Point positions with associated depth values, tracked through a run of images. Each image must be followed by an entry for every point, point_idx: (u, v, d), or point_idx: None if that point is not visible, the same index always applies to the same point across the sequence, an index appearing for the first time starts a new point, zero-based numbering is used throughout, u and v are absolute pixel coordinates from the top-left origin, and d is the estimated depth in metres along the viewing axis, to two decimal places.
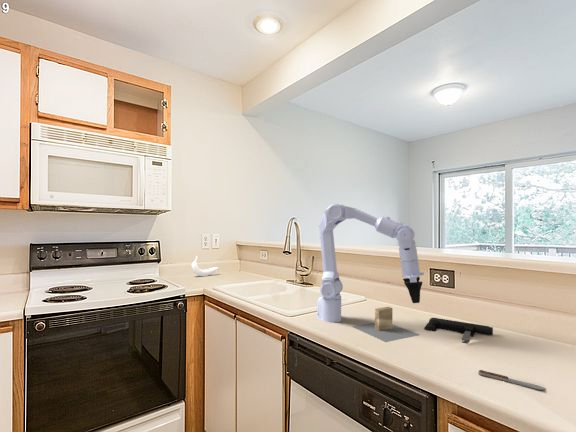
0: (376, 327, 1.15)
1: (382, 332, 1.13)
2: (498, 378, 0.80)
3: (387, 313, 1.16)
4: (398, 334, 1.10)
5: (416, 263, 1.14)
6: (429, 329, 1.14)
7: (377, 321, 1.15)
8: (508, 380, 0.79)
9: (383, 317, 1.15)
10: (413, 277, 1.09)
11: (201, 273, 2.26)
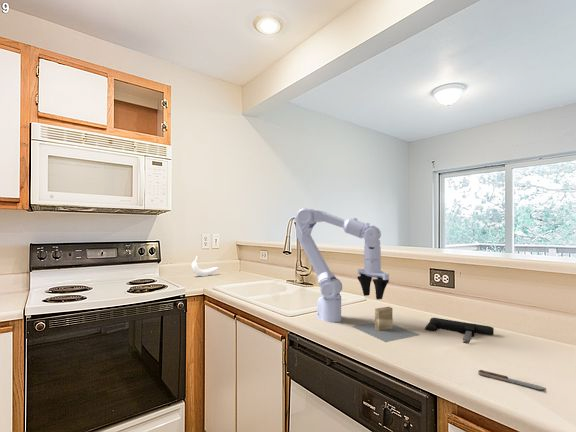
0: (376, 327, 1.15)
1: (382, 332, 1.13)
2: (498, 378, 0.81)
3: (387, 313, 1.16)
4: (398, 334, 1.10)
5: (380, 262, 1.21)
6: (430, 329, 1.14)
7: (377, 321, 1.15)
8: (508, 380, 0.79)
9: (383, 317, 1.15)
10: (387, 275, 1.15)
11: (201, 273, 2.26)
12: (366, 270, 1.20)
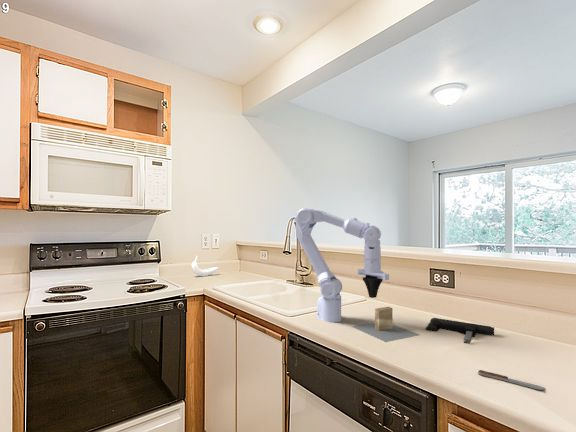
0: (376, 327, 1.15)
1: (382, 332, 1.13)
2: (498, 378, 0.81)
3: (387, 313, 1.16)
4: (398, 334, 1.10)
5: (380, 262, 1.21)
6: (431, 329, 1.14)
7: (377, 321, 1.15)
8: (508, 380, 0.79)
9: (383, 317, 1.15)
10: (387, 275, 1.15)
11: (201, 273, 2.26)
12: (366, 270, 1.20)
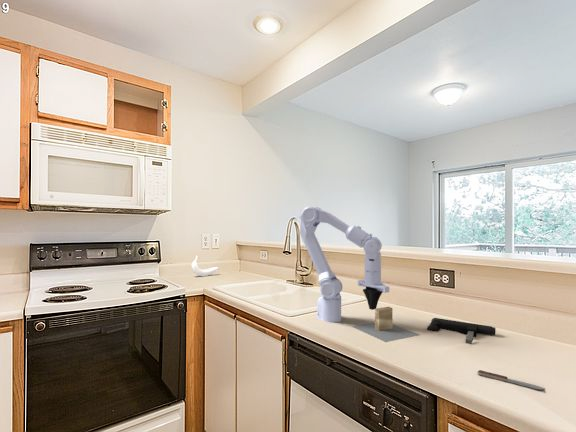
0: (376, 327, 1.15)
1: (382, 332, 1.13)
2: (497, 378, 0.80)
3: (387, 313, 1.16)
4: (398, 334, 1.10)
5: (380, 274, 1.21)
6: (432, 329, 1.14)
7: (377, 321, 1.15)
8: (507, 380, 0.79)
9: (383, 317, 1.15)
10: (387, 287, 1.15)
11: (201, 273, 2.26)
12: (366, 282, 1.20)
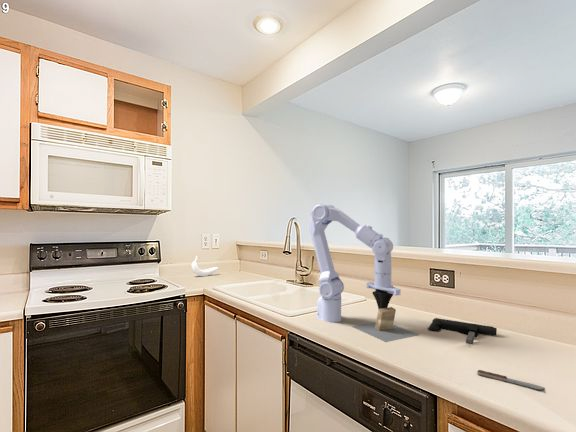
0: (376, 326, 1.15)
1: (382, 332, 1.13)
2: (497, 378, 0.81)
3: (390, 314, 1.14)
4: (398, 334, 1.10)
5: None
6: (433, 330, 1.14)
7: (378, 321, 1.14)
8: (507, 380, 0.79)
9: (385, 318, 1.14)
10: (398, 290, 1.10)
11: (201, 273, 2.26)
12: (376, 284, 1.16)
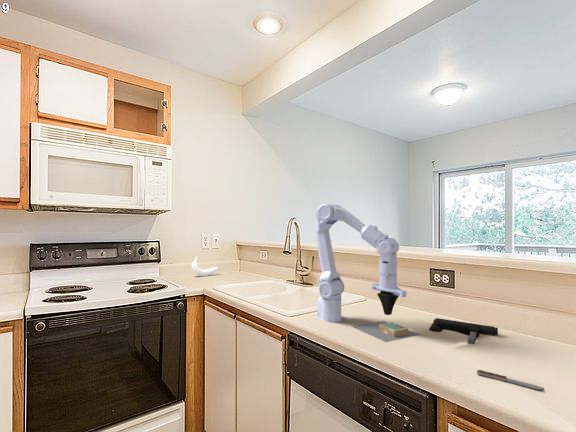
0: (380, 327, 1.13)
1: (382, 332, 1.13)
2: (496, 378, 0.81)
3: None
4: None
5: (396, 277, 1.14)
6: (434, 330, 1.14)
7: (385, 331, 1.11)
8: (506, 380, 0.79)
9: None
10: (404, 292, 1.08)
11: (201, 273, 2.26)
12: (381, 286, 1.13)
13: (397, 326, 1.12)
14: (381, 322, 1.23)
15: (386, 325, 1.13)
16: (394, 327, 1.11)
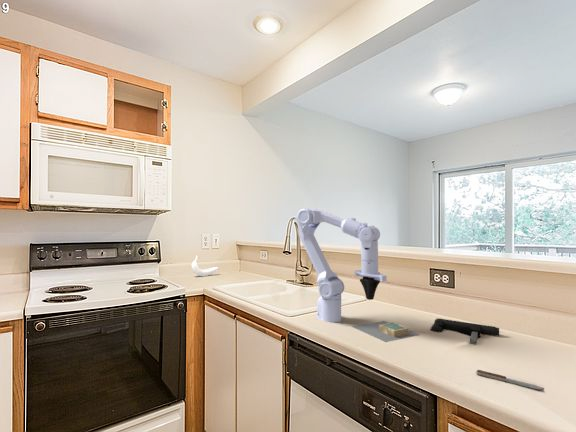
0: (380, 327, 1.13)
1: (382, 332, 1.13)
2: (496, 378, 0.81)
3: None
4: None
5: (377, 263, 1.18)
6: (436, 330, 1.13)
7: (385, 331, 1.11)
8: (506, 380, 0.79)
9: None
10: (384, 276, 1.12)
11: (201, 273, 2.26)
12: (363, 271, 1.17)
13: (397, 326, 1.12)
14: (381, 322, 1.23)
15: (386, 325, 1.13)
16: (394, 327, 1.11)
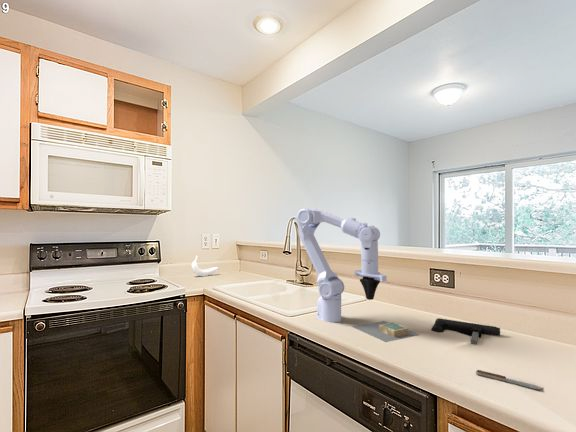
0: (380, 327, 1.13)
1: (382, 332, 1.13)
2: (496, 378, 0.81)
3: None
4: None
5: (377, 263, 1.18)
6: (436, 330, 1.13)
7: (385, 331, 1.11)
8: (506, 380, 0.79)
9: None
10: (384, 276, 1.12)
11: (201, 273, 2.26)
12: (363, 271, 1.17)
13: (397, 326, 1.12)
14: (381, 322, 1.23)
15: (386, 325, 1.13)
16: (394, 327, 1.11)
